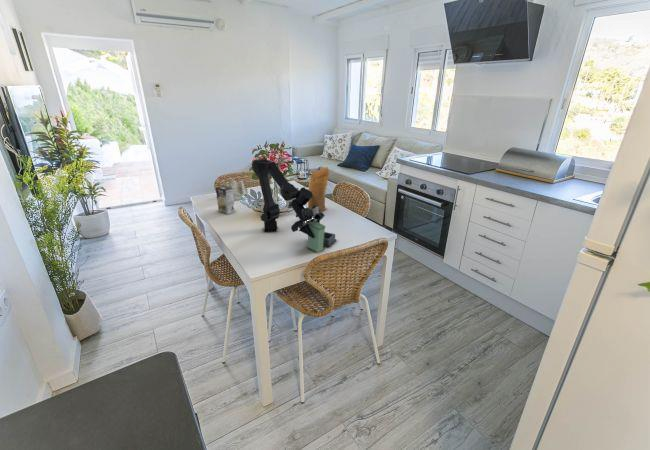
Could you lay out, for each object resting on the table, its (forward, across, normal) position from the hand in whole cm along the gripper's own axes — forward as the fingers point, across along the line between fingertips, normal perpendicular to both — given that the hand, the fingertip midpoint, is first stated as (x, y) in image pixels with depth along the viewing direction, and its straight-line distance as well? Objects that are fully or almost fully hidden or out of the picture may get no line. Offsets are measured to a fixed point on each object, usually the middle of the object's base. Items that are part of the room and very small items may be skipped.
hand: (317, 236), depth 152 cm
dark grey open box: (+2, +8, +8) cm, 12 cm away
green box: (+4, 0, +6) cm, 7 cm away
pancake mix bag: (-21, +39, +30) cm, 53 cm away
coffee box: (-52, -1, +59) cm, 79 cm away
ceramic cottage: (-67, +21, +74) cm, 102 cm away
